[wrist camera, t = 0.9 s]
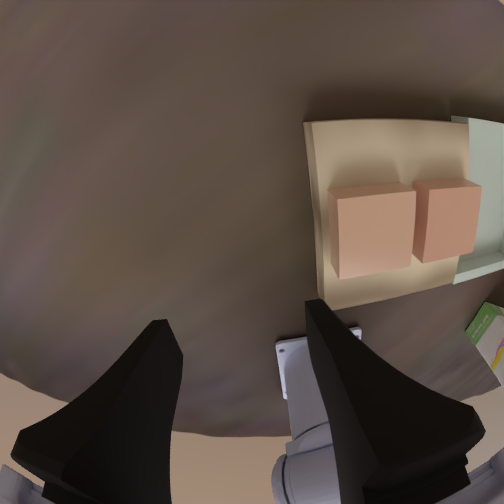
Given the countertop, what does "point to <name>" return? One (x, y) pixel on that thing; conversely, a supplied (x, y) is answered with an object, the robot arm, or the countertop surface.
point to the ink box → (489, 337)
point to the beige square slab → (379, 172)
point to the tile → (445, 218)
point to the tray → (485, 198)
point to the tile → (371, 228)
